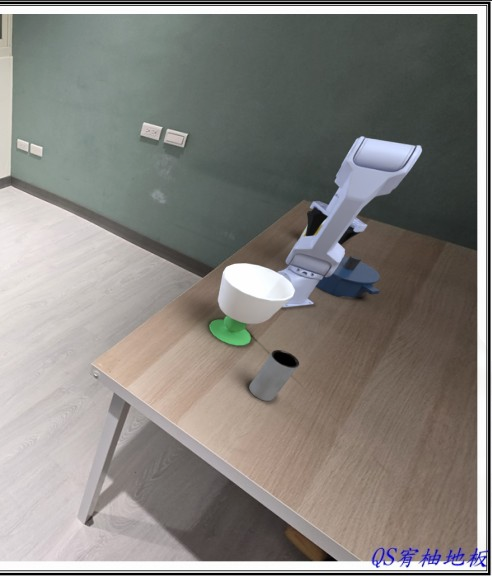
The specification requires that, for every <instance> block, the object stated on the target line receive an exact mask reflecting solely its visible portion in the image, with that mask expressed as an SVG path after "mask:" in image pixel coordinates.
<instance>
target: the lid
mask: <svg viewBox="0 0 492 576" xmlns="http://www.w3.org/2000/svg"><path fill="white" fill-rule="evenodd" d="M362 260H363V259H362V257H361V256H359V255H357V254H356V255H355V254H351V255H350V256H349V257H347V256H345V255H344V256H343V258H342V260H341V262H340V263H339V265H338V267H337V268H336V270H335V271H334V273H333V274H332V275H334V276H336V277H338V278H341V279H344V280H347V281H350V282H355V283H361V284H372V283H373V284H376V283H378V282H379V280H380V279H381V275H380V274H379V272H378V271H377V270H376V269H375V268H374V267H372V266H371V265H368V264H367V263H364V262H362Z"/></svg>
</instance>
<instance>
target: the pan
mask: <svg viewBox="0 0 492 576" xmlns="http://www.w3.org/2000/svg"><path fill="white" fill-rule="evenodd" d="M373 284H374V283H372V284H361V283H355V282H350V281H347V280H344V279H341V278H338V277H336V276H334V275H331V276H329V277H323V278H322V279H321V280H320V281H319V282H318V284H317V285H316V286H315V287H317V288H318V289H319V290H321V291H323V292H325V293H327V294H330V295H333V296H335V297H339V298H340V297H345V298H346V297H347V298H361V297H363V296H364V295H366V294H368V295H377V294H379V293H380V292H381V290H380V289H379V288H378V287H376V286H373Z"/></svg>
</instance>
